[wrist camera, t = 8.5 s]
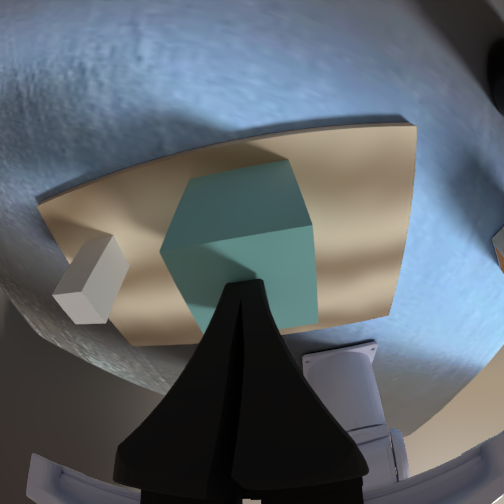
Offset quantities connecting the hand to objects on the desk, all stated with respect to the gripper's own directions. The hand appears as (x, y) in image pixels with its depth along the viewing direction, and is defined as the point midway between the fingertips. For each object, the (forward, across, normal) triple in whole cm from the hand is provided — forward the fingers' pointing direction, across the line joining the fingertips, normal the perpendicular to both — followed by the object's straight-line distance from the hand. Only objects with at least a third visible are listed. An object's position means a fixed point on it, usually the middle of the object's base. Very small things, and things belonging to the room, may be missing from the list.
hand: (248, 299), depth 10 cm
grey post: (+6, +10, +1) cm, 12 cm away
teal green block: (+6, 0, 0) cm, 6 cm away
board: (+7, +2, +4) cm, 8 cm away
